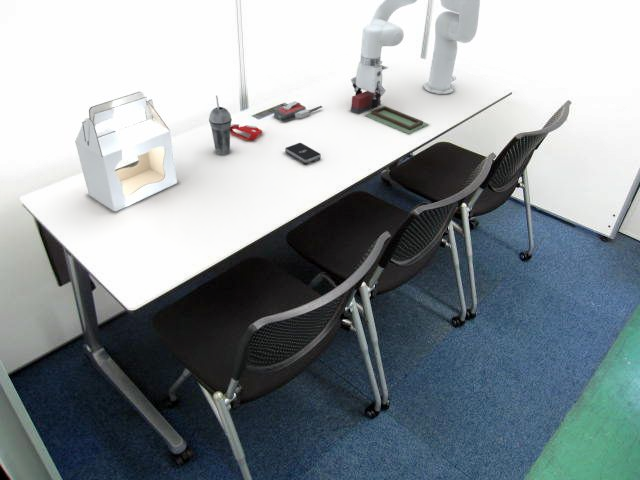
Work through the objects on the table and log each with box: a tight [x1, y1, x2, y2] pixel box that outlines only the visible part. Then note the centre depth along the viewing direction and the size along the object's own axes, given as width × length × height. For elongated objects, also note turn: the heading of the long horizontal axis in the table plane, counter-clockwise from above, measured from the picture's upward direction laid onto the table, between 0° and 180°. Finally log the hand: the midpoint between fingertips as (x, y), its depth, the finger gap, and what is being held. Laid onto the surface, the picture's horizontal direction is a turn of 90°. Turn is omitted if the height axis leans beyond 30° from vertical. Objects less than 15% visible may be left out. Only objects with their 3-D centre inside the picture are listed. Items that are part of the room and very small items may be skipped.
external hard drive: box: [284, 142, 322, 165], centre depth 181 cm, size 7×11×2 cm, turn 42°
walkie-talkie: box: [273, 100, 323, 122], centre depth 207 cm, size 9×4×20 cm
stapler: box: [350, 90, 382, 115], centre depth 214 cm, size 14×4×6 cm, turn 135°
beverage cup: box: [208, 95, 233, 156], centre depth 176 cm, size 7×7×20 cm
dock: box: [365, 105, 429, 135], centre depth 207 cm, size 12×21×2 cm, turn 45°
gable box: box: [74, 91, 178, 213], centre depth 153 cm, size 22×13×28 cm, turn 140°
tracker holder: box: [230, 123, 263, 141], centre depth 191 cm, size 12×4×10 cm
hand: (366, 104), depth 215 cm, fingers open, 7 cm apart
